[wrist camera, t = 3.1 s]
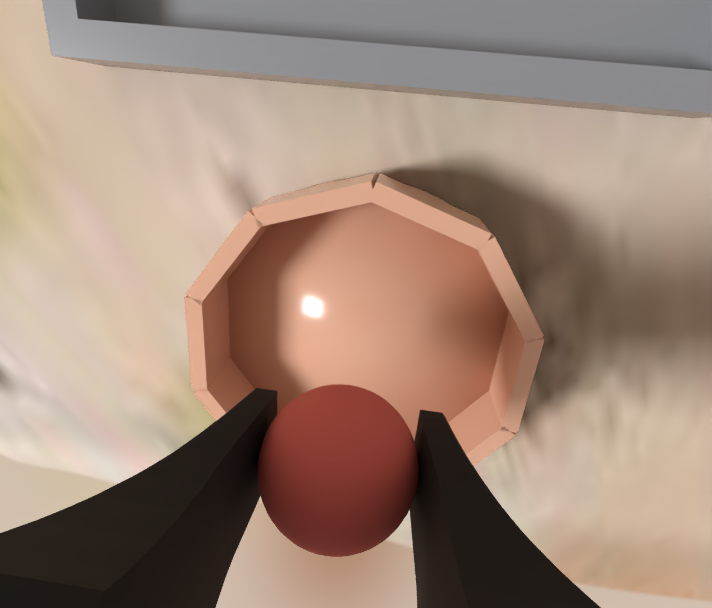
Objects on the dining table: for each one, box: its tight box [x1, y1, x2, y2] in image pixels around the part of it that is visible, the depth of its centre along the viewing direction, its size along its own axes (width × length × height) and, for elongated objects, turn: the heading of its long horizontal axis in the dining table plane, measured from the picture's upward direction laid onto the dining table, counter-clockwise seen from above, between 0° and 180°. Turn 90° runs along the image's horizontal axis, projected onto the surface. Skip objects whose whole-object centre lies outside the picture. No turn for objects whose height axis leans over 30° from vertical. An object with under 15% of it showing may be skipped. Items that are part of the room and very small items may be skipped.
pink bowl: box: [185, 173, 544, 466], centre depth 17 cm, size 12×13×3 cm
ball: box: [258, 384, 419, 557], centre depth 11 cm, size 4×4×4 cm
